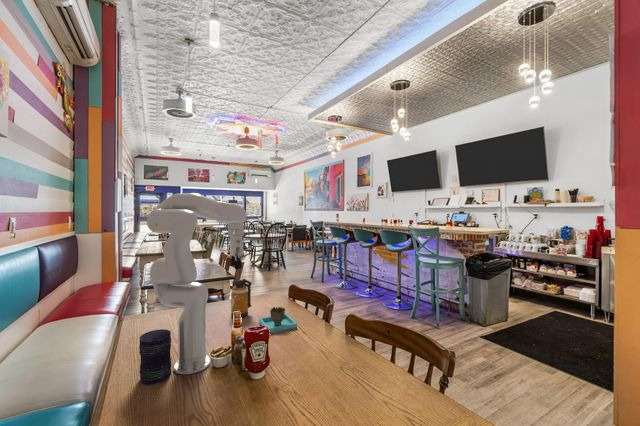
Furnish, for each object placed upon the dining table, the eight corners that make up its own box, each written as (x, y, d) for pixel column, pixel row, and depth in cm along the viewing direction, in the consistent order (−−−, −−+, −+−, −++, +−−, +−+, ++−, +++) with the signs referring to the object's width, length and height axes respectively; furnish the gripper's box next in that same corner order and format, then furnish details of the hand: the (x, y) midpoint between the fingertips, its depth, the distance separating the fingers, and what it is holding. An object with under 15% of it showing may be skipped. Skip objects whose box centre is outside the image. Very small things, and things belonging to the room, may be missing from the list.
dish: (297, 328, 145) (297, 323, 145) (267, 334, 138) (267, 329, 138) (286, 318, 159) (286, 313, 158) (258, 323, 152) (258, 318, 152)
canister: (230, 314, 165) (229, 278, 164) (250, 311, 169) (249, 276, 169) (232, 319, 157) (232, 282, 156) (253, 316, 161) (253, 280, 161)
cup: (282, 328, 144) (282, 312, 144) (268, 327, 145) (268, 311, 145) (286, 322, 151) (286, 306, 151) (273, 321, 152) (273, 306, 152)
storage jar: (143, 372, 107) (142, 331, 106) (173, 367, 110) (172, 327, 110) (136, 388, 97) (136, 343, 97) (169, 381, 101) (169, 338, 101)
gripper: (247, 233, 139) (247, 269, 139) (239, 231, 154) (240, 263, 155) (231, 234, 136) (231, 271, 136) (225, 231, 151) (225, 264, 151)
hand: (236, 267), depth 145 cm, fingers open, 9 cm apart
